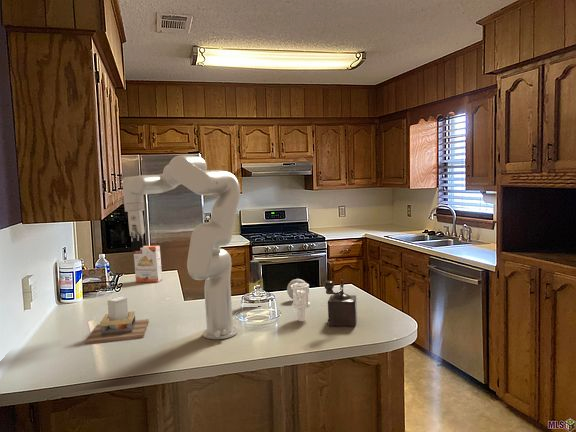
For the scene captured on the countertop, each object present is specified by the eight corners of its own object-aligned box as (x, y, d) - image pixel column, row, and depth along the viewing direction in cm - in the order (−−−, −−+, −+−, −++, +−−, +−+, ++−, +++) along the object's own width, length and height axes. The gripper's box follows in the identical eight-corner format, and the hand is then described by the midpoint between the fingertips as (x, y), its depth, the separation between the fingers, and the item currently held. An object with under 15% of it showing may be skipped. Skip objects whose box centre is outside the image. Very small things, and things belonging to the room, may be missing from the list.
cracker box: (135, 283, 272) (132, 247, 270) (140, 280, 278) (137, 245, 276) (158, 282, 269) (155, 246, 268) (162, 280, 275) (159, 245, 273)
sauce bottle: (262, 306, 206) (259, 262, 204) (248, 306, 207) (245, 262, 206) (265, 302, 212) (263, 259, 211) (252, 302, 214) (249, 259, 212)
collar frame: (132, 332, 176) (130, 319, 176) (101, 335, 174) (100, 322, 174) (135, 323, 187) (134, 311, 187) (106, 326, 185) (105, 314, 185)
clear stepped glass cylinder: (289, 320, 184) (286, 283, 183) (300, 316, 189) (298, 279, 188) (302, 323, 179) (300, 285, 178) (314, 319, 184) (312, 281, 183)
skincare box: (116, 332, 177) (114, 301, 176) (109, 330, 180) (106, 300, 179) (129, 327, 182) (127, 297, 181) (122, 326, 185) (120, 296, 184)
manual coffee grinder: (329, 318, 184) (327, 273, 183) (357, 318, 182) (355, 272, 181) (324, 331, 169) (322, 282, 168) (355, 331, 167) (353, 282, 166)
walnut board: (143, 337, 173) (143, 334, 173) (85, 344, 169) (85, 340, 169) (148, 321, 193) (148, 319, 193) (97, 327, 189) (97, 324, 189)
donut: (309, 299, 215) (308, 277, 214) (309, 301, 211) (308, 279, 211) (287, 299, 216) (286, 278, 215) (287, 301, 212) (286, 280, 211)
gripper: (141, 207, 181) (145, 251, 182) (146, 205, 198) (149, 245, 199) (121, 209, 179) (124, 253, 181) (127, 206, 196) (131, 247, 198)
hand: (137, 249), depth 190 cm, fingers open, 9 cm apart
